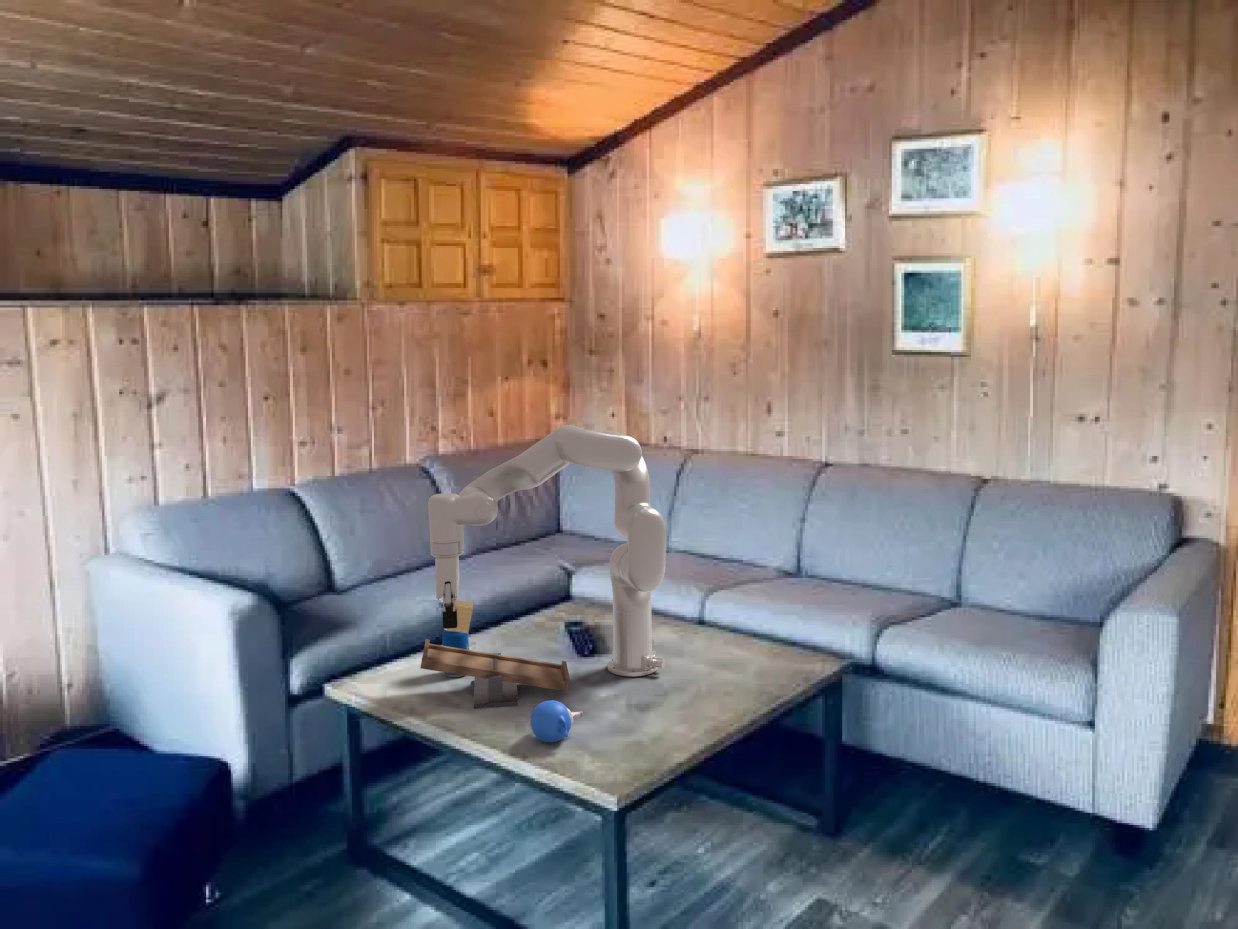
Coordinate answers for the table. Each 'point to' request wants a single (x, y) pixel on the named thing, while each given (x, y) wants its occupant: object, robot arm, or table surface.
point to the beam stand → (494, 692)
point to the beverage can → (455, 643)
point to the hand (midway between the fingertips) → (450, 623)
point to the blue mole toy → (552, 721)
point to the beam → (495, 666)
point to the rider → (463, 615)
